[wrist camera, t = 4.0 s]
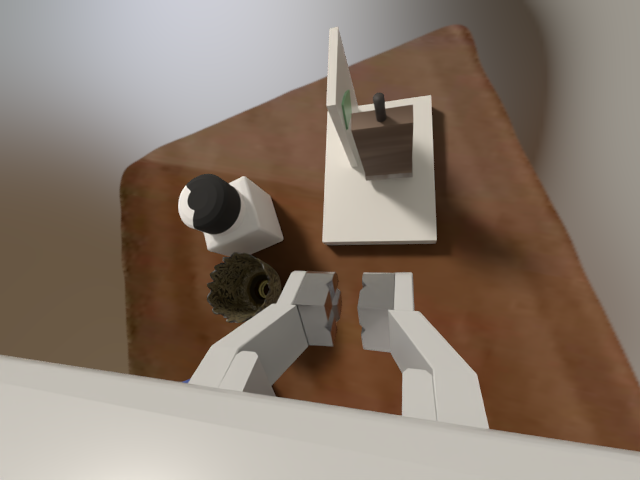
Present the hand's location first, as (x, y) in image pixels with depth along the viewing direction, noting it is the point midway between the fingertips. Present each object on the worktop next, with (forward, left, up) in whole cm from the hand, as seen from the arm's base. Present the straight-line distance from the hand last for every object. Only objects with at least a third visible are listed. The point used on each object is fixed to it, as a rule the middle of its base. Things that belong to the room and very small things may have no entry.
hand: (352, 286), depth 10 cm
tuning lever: (+13, -6, -22) cm, 26 cm away
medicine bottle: (+16, +13, -26) cm, 33 cm away
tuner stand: (+15, -5, -25) cm, 30 cm away
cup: (+7, +14, -26) cm, 30 cm away
